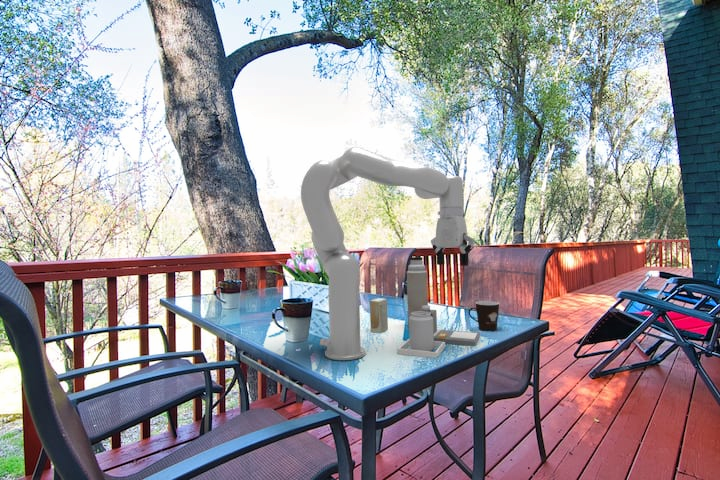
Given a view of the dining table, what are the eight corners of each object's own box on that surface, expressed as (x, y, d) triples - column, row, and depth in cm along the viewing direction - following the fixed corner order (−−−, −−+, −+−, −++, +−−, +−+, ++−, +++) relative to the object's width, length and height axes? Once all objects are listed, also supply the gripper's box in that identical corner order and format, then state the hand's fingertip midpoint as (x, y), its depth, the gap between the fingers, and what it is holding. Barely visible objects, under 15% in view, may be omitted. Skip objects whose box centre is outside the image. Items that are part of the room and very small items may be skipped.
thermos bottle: (426, 325, 151) (425, 256, 151) (430, 330, 143) (428, 257, 143) (407, 325, 151) (405, 256, 151) (409, 330, 143) (407, 257, 143)
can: (433, 354, 114) (432, 315, 114) (409, 353, 115) (408, 314, 115) (434, 347, 121) (433, 310, 121) (410, 346, 122) (409, 310, 122)
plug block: (416, 333, 132) (415, 307, 132) (420, 329, 138) (420, 304, 138) (433, 334, 130) (432, 308, 130) (436, 330, 135) (436, 305, 135)
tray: (397, 353, 115) (397, 348, 115) (409, 343, 126) (408, 338, 126) (436, 358, 110) (436, 352, 110) (445, 346, 121) (445, 341, 121)
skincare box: (379, 328, 148) (378, 297, 148) (388, 329, 146) (387, 298, 146) (369, 332, 143) (369, 300, 143) (379, 333, 141) (378, 301, 141)
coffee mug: (497, 326, 146) (496, 301, 146) (501, 332, 137) (501, 305, 137) (466, 326, 148) (466, 301, 148) (469, 331, 140) (468, 305, 140)
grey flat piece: (409, 340, 130) (409, 333, 130) (419, 332, 141) (418, 325, 141) (475, 346, 121) (475, 339, 121) (479, 336, 132) (479, 330, 132)
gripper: (424, 214, 128) (424, 264, 128) (466, 211, 115) (467, 267, 115) (438, 215, 133) (439, 263, 133) (480, 212, 120) (481, 265, 120)
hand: (452, 265), depth 124 cm, fingers open, 9 cm apart
